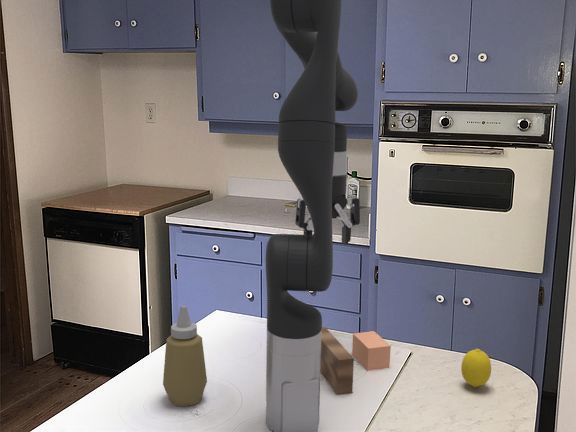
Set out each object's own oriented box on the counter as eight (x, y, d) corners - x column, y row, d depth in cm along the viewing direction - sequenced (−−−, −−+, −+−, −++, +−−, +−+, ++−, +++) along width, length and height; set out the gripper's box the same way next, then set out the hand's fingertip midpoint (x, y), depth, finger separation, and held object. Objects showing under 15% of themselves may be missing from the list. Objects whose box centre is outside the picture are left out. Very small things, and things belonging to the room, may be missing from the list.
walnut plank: (352, 392, 116) (353, 358, 114) (337, 394, 115) (338, 360, 114) (324, 357, 131) (325, 326, 129) (310, 358, 130) (311, 328, 129)
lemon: (494, 387, 119) (497, 349, 117) (481, 397, 115) (484, 357, 113) (468, 377, 123) (471, 340, 121) (454, 387, 119) (457, 349, 117)
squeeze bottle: (168, 387, 117) (166, 298, 113) (210, 389, 116) (209, 299, 113) (158, 409, 109) (155, 314, 105) (203, 411, 109) (202, 315, 105)
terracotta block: (389, 368, 127) (390, 345, 126) (367, 371, 125) (368, 348, 124) (372, 352, 134) (373, 331, 133) (352, 355, 133) (352, 333, 132)
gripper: (304, 175, 125) (302, 251, 129) (367, 173, 130) (363, 247, 133) (292, 170, 132) (291, 242, 136) (352, 168, 137) (349, 239, 140)
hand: (327, 244), depth 134 cm, fingers open, 8 cm apart
